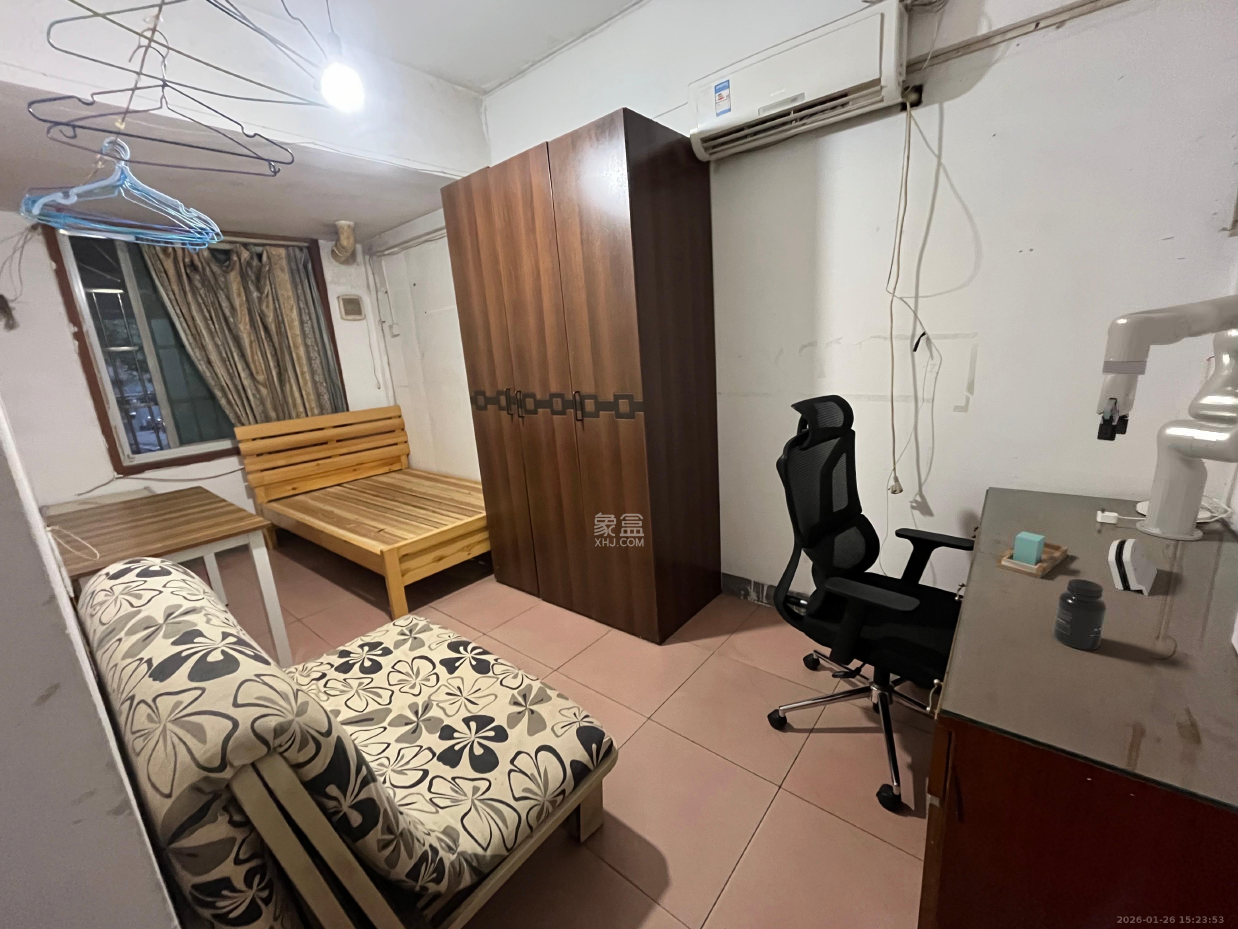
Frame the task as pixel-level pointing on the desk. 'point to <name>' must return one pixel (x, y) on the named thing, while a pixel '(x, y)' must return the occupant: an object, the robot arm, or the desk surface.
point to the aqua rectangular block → (1028, 548)
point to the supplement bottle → (1080, 615)
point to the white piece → (1131, 565)
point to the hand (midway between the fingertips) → (1111, 436)
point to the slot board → (1049, 559)
